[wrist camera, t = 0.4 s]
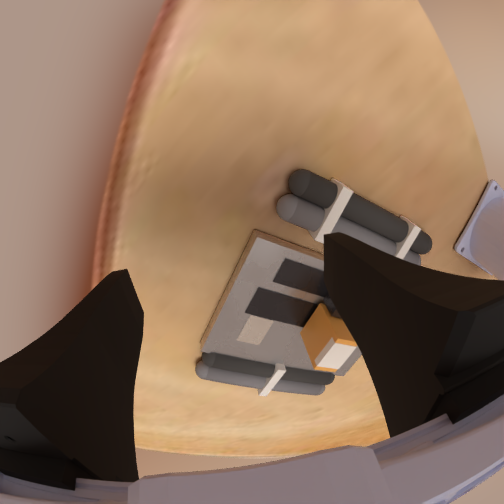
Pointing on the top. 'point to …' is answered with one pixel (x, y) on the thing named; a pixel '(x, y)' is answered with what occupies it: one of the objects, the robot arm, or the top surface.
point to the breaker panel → (271, 305)
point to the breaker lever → (327, 340)
